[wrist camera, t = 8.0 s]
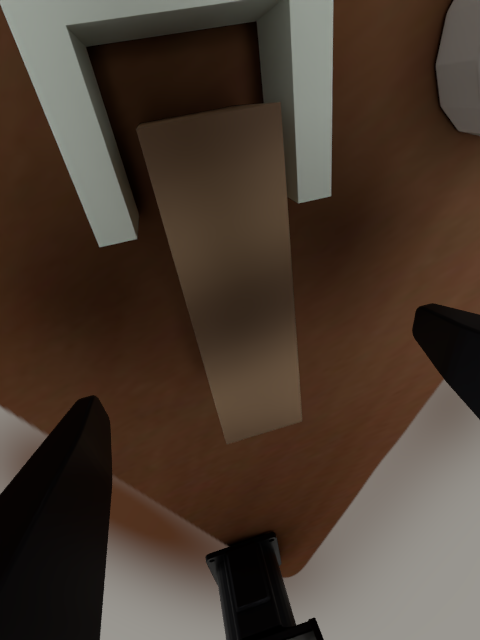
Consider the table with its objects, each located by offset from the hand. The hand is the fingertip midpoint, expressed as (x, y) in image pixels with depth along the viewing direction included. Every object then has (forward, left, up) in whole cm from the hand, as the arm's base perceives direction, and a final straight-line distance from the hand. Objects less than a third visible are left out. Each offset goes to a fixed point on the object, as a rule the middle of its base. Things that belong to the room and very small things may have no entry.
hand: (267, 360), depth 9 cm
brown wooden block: (0, 0, -7) cm, 7 cm away
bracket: (+5, 0, -7) cm, 9 cm away
